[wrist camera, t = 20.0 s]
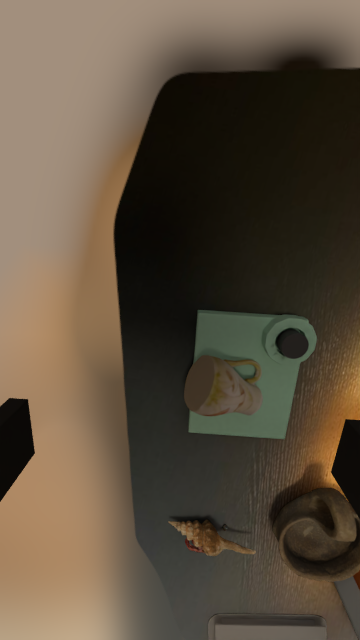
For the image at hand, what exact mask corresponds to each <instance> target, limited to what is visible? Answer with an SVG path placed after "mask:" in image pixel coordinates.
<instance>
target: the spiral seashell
mask: <svg viewBox="0 0 360 640" xmlns="http://www.w3.org/2000/svg"><path fill="white" fill-rule="evenodd" d="M169 523H170V524H172V525H173V526H175V528H177V530H178V531H181V533H182V535H186V536H187V538H186V539H185V543H186V545H187V547H188V548H189V550H192V551H196V552H204V553H205V555H210V556H216V555H218V554H219V553H220V552H221V551H222V550H223V549H231V550H234V551H237V552H241V553H243V554H255V553H256V550H252V549H248V548H245V547H242V546H240V545H238V544H236V543H234V542H231V541H228V540H225V539H223V538H221V537H220V536H219V535H218V533H217V531H216V529H215V528H214V526H213V525H212V524H211V523H210V522H209V521H208V520H205V521H204V522H203V523H202V524H201V523H200V522H198V521H197V520H195V521H194V522H192V523H191V522H190V521H187V522H186V523H185V522H184V521H182V522H181V523H180V522H179V521H178V522H176V521H175V522H174V521H173V522H172V521H169ZM223 529H224V531H225V530H227V526H226V525H224V526H223ZM189 540H192V541H191V543H193V544H194V545H193V546H192V544H191V545H190V544H189ZM187 543H188V544H187ZM188 545H189V546H190V547H189V546H188ZM194 546H195V547H194Z"/></svg>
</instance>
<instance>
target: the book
mask: <svg viewBox="0 0 360 640" xmlns="http://www.w3.org/2000/svg"><path fill="white" fill-rule="evenodd" d="M326 629H327V624H326V620H325V619H323V618H322V617H321V616H316V615H275V614H218V615H214V616H213V617H212V618H210V620H209V623H208V640H327V632H326Z"/></svg>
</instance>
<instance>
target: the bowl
mask: <svg viewBox="0 0 360 640" xmlns="http://www.w3.org/2000/svg"><path fill="white" fill-rule="evenodd" d="M272 531H273V533H274V534H275V536H276V538H277V540H278V542H279V551H280V555H281V557H282V559H283V561H284V562H285V564H286V565H287V566H288V567H289V568H290V569H291V570H292V571H293V572H294V573H296V574H297V575H299V576H302V577H304V578H307V579H312V580H317V581H328V582H334V581H342V580H346V579H348V578H350V577H352V576H353V575H354V574H356V573H358V571H359V570H360V519H359V517H358V516H357V514H356V512H355V511H354V509H353V508H352V506H351V504H350V503H349V502H348V501H347V500H346V498H345V497H344V496H343V495H342V494H341V493H340V492H339V491H337V490H335V489H333V488H318V489H315V490H313V491H312V492H309V493H306V494H304V495H302V496H300V497H298V498H296V499H294V500H292V501H291V502H289V503H288V504H286V505H285V506H284V507H283V508H282V509H281V511H280V512H279V514H278V515H277V517H276V519H275V521H274V524H273V527H272Z"/></svg>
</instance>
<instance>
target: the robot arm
mask: <svg viewBox="0 0 360 640" xmlns="http://www.w3.org/2000/svg"><path fill="white" fill-rule="evenodd" d="M29 413H30V412H29V405H28V399H14V398H9V399H8V400H7V401H6V402H5V403H4V404H3V405H1V406H0V501H1V500H2V499H3V497H4V496H5V494H6V493H7V491H8V490H9V489H10V487H11V486H12V484H13V483H14V482H15V480H16V479H17V477H18V476H19V474H20V473H21V472H22V470H23V469H24V468H25V466H26V465H27V463H28V462H29V460H30V459H31V457H32V456H33V455H34V454H35V451H34V443H33V436H32V428H31V420H30V414H29ZM331 473H332V475H333V476H334V478H335V480H336V481H337V483H338V485H339V486H340V488H341V490H342V491H343V493H344V494H345V496H346V498H347V499H348V501H349V503H350V504H351V506H352V508H353V509H354V511H355V512H356V514H357V516H358V517H359V519H360V420H348V419H346V420H345V424H344V427H343V431H342V435H341V438H340V442H339V445H338V449H337V453H336V456H335V460H334V463H333V467H332V471H331Z"/></svg>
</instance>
